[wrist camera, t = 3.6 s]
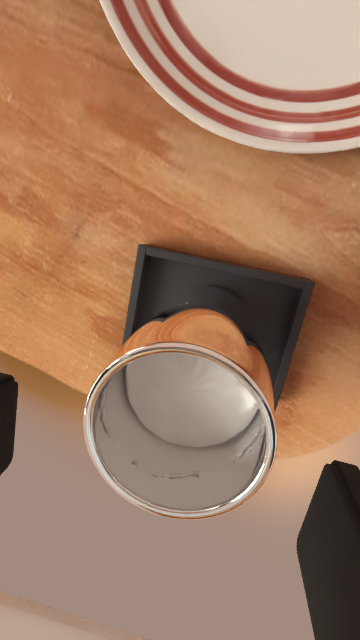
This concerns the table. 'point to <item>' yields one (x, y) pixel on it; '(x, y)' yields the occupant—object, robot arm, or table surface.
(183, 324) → the beer glass
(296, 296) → the tray
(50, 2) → the table surface
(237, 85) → the dinner plate
